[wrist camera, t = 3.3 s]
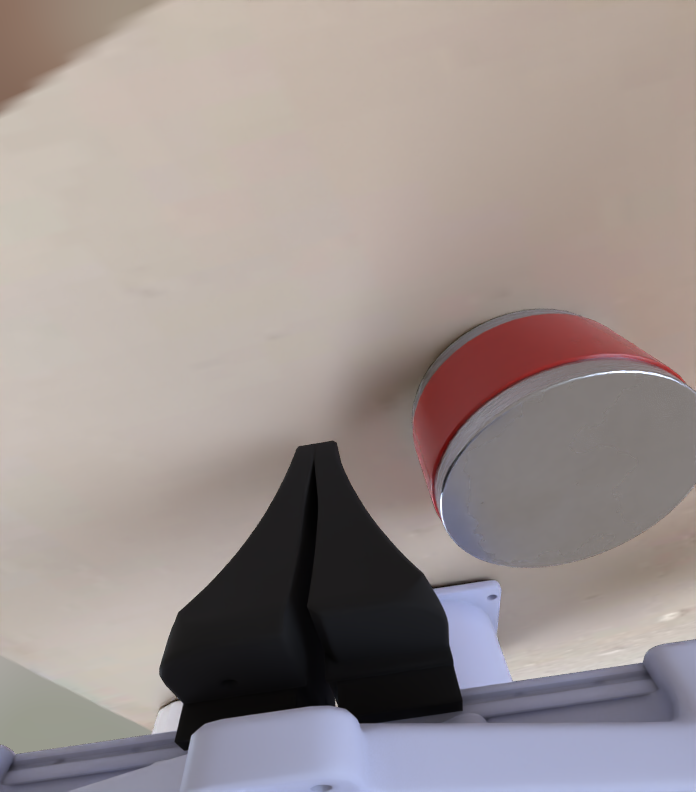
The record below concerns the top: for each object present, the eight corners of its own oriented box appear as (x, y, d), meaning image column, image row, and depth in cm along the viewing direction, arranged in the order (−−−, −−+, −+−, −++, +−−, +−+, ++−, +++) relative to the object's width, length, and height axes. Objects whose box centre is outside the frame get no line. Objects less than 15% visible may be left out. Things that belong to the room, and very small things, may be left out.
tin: (598, 466, 17) (671, 550, 14) (415, 495, 17) (439, 585, 14) (645, 285, 13) (769, 340, 9) (400, 327, 13) (431, 396, 10)
